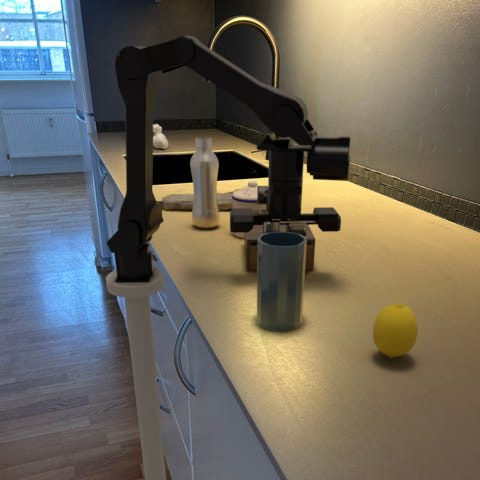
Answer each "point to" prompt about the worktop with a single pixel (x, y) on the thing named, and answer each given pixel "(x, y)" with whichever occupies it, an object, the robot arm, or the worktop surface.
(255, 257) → the drawer
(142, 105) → the robot arm
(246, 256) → the cabinet
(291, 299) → the tumbler
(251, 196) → the teacup with lid
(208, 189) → the plastic bottle
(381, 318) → the lemon
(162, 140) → the bust
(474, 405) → the worktop surface
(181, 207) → the elongated rock
